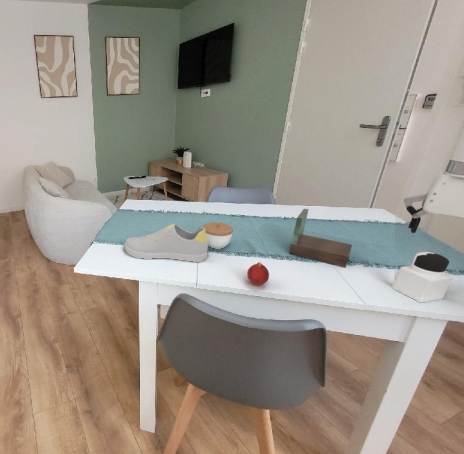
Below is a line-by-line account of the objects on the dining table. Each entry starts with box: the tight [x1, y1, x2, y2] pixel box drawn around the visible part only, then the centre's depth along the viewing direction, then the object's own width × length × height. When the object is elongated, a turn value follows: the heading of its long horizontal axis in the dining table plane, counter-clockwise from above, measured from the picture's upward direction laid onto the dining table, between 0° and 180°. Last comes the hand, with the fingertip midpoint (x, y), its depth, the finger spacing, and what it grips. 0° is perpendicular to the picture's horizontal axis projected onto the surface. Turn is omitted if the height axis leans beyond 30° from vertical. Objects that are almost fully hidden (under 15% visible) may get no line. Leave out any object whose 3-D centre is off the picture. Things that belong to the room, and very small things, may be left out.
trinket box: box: [202, 221, 234, 250], centre depth 111 cm, size 11×11×9 cm
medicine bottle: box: [392, 251, 453, 303], centre depth 78 cm, size 7×7×12 cm
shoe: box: [124, 223, 209, 263], centre depth 106 cm, size 10×30×12 cm, turn 71°
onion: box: [246, 261, 270, 287], centre depth 86 cm, size 6×6×8 cm
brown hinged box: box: [288, 208, 353, 268], centre depth 100 cm, size 16×11×14 cm
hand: (439, 236), depth 74 cm, fingers open, 9 cm apart
